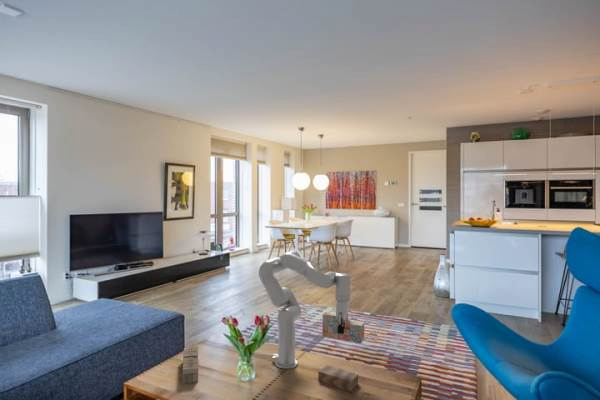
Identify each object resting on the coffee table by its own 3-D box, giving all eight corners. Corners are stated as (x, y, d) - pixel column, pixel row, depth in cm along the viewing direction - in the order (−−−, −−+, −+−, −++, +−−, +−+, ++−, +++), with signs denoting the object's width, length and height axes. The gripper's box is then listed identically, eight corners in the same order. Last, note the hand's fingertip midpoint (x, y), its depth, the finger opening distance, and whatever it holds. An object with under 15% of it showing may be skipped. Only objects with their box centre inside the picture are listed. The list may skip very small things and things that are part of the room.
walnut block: (318, 381, 186) (318, 371, 186) (326, 374, 193) (327, 365, 193) (350, 391, 175) (350, 381, 176) (357, 384, 183) (358, 374, 183)
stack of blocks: (364, 339, 190) (364, 316, 190) (361, 344, 184) (361, 319, 184) (326, 332, 199) (326, 310, 199) (321, 336, 193) (322, 313, 193)
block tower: (183, 362, 206) (181, 385, 178) (183, 347, 207) (181, 368, 179) (197, 360, 209) (198, 383, 181) (198, 345, 209) (198, 366, 181)
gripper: (339, 292, 201) (338, 325, 201) (332, 300, 185) (331, 335, 185) (352, 294, 199) (351, 326, 199) (346, 302, 182) (346, 337, 182)
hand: (342, 330), depth 192 cm, fingers closed on stack of blocks, 6 cm apart
